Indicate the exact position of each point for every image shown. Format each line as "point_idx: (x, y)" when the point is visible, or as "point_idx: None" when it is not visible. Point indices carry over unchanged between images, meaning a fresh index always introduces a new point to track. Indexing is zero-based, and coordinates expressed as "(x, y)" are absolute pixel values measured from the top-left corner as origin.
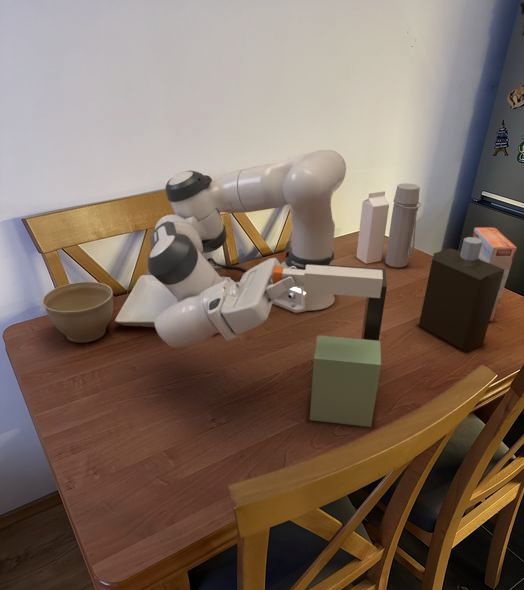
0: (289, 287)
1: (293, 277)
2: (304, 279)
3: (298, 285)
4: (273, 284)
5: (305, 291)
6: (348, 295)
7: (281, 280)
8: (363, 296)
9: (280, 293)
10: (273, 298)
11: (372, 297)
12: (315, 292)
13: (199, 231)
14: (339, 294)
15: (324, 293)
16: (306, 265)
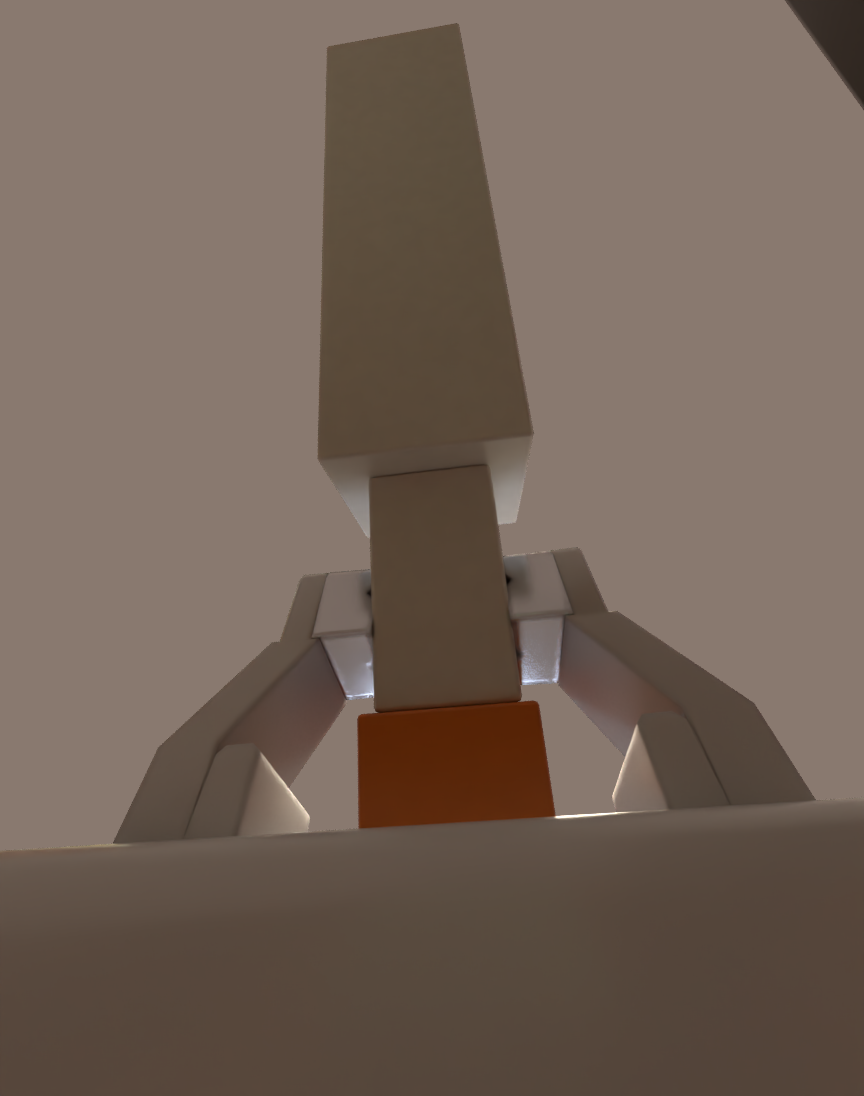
0: (290, 617)
1: None
2: (354, 516)
3: (370, 529)
4: (359, 817)
5: (318, 447)
6: (325, 169)
7: (332, 707)
8: (327, 108)
9: (213, 710)
10: (129, 821)
11: (327, 72)
12: (321, 365)
13: None
14: (324, 216)
15: (322, 301)
16: (501, 523)
